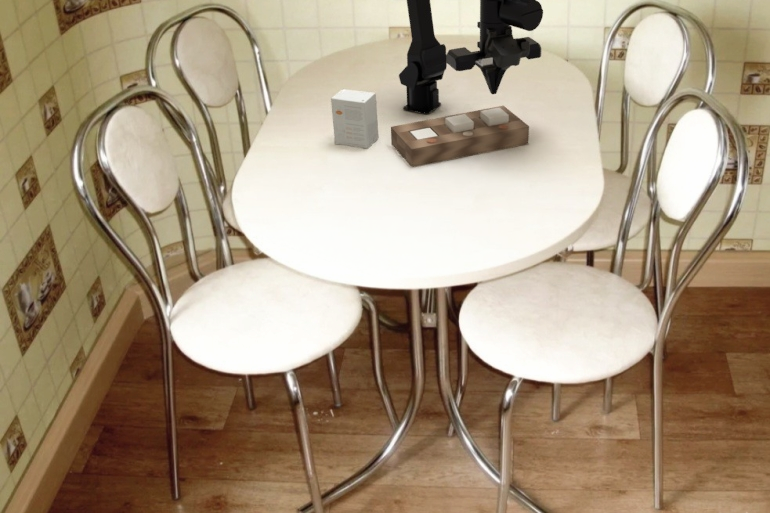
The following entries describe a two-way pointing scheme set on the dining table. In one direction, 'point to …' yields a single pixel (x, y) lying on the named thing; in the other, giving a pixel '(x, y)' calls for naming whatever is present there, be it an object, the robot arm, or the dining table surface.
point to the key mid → (459, 123)
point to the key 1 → (423, 134)
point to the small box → (355, 118)
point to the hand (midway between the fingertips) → (493, 93)
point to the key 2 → (494, 116)
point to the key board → (457, 138)
